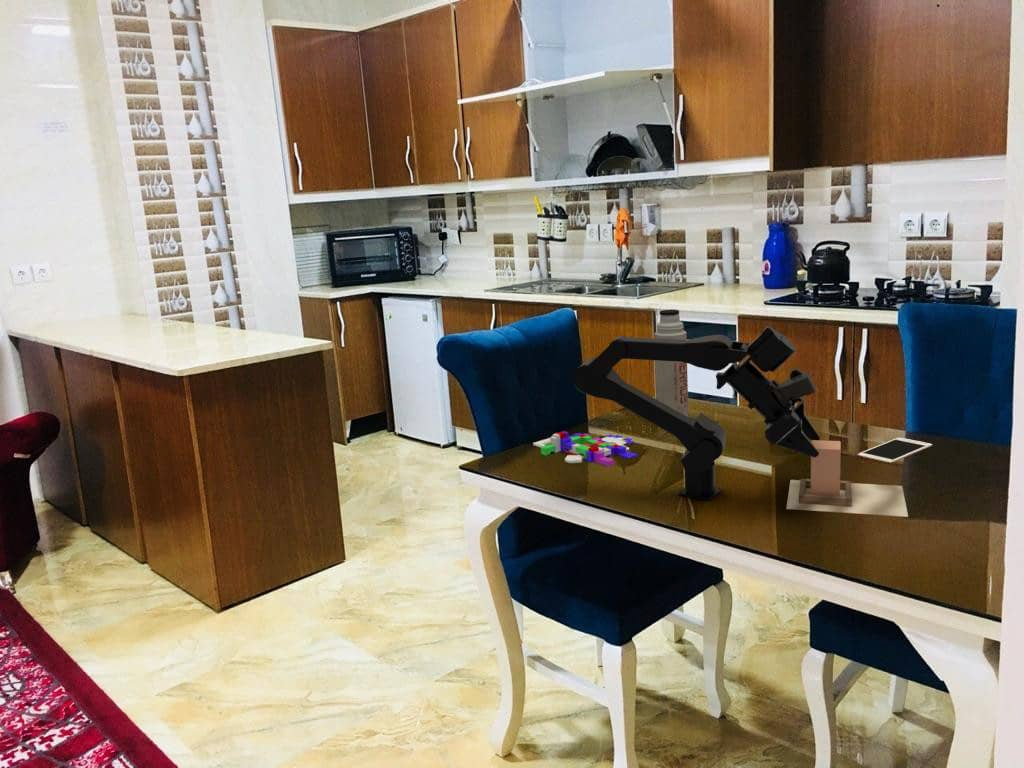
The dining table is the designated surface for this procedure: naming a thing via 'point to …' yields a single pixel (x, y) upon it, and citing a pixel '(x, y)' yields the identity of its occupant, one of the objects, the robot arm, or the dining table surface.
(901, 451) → the cell phone
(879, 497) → the board
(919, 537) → the dining table surface
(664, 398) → the thermos bottle
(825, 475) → the pillar
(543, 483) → the dining table surface
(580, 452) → the building block set
